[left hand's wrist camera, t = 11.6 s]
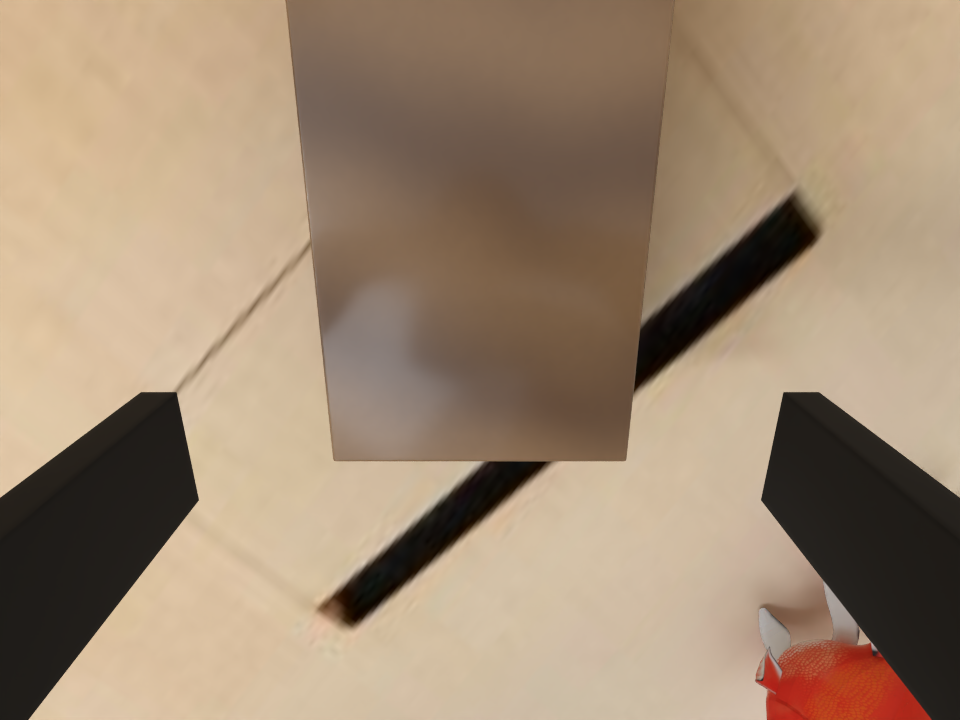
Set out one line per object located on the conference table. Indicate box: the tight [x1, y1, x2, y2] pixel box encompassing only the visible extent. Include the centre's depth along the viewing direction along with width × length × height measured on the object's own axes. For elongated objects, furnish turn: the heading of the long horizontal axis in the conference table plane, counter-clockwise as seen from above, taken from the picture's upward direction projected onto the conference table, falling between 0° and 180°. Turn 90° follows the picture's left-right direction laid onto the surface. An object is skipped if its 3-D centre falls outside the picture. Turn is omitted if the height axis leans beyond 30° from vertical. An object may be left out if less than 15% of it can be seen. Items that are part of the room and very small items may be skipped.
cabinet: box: [286, 0, 675, 461], centre depth 20 cm, size 21×10×8 cm, turn 0°
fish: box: [755, 580, 932, 720], centre depth 28 cm, size 11×16×10 cm
